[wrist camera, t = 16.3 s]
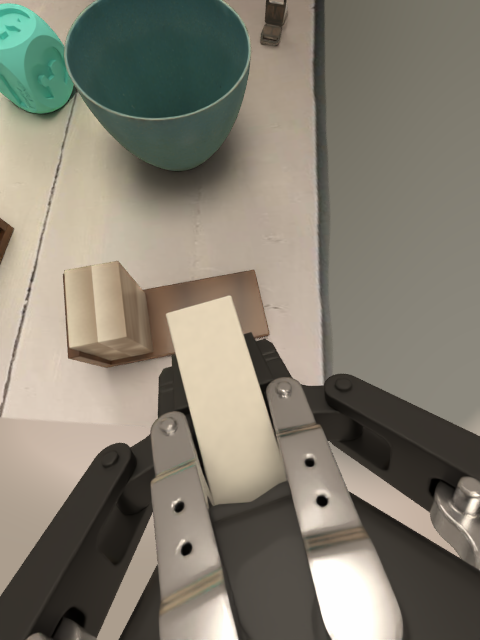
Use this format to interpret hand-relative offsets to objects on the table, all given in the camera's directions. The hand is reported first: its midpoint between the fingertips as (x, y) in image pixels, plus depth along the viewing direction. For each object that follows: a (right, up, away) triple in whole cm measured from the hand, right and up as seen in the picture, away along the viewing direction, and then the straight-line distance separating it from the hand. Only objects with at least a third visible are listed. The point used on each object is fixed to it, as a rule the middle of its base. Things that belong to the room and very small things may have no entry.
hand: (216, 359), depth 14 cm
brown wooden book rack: (-5, +2, +21) cm, 22 cm away
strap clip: (+6, +48, +34) cm, 59 cm away
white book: (+1, -3, +4) cm, 5 cm away
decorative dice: (-27, +34, +29) cm, 53 cm away
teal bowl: (-7, +26, +27) cm, 38 cm away
